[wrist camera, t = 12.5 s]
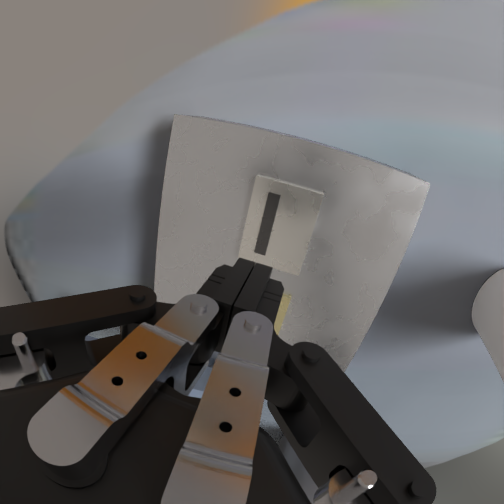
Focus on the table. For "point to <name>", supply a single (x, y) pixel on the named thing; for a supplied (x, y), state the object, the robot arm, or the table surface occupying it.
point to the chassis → (285, 225)
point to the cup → (491, 318)
